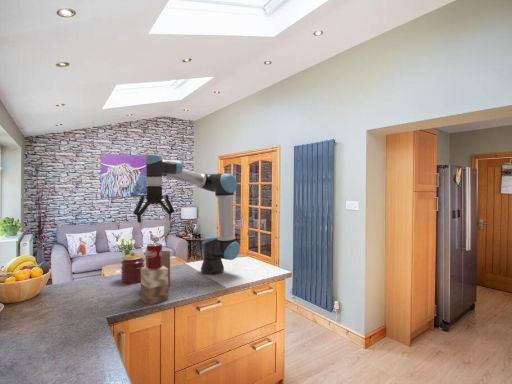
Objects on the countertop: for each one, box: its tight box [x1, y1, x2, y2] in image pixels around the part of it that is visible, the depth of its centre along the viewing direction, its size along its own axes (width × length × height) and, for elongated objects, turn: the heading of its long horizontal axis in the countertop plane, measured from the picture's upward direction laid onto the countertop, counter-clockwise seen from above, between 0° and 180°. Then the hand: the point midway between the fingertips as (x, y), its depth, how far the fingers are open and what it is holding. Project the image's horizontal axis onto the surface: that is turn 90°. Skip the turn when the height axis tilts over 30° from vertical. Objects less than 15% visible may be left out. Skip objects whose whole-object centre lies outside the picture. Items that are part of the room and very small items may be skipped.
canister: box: [120, 251, 145, 285], centre depth 180 cm, size 13×13×18 cm
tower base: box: [140, 283, 169, 306], centre depth 153 cm, size 10×10×8 cm
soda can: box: [146, 242, 163, 270], centre depth 152 cm, size 7×7×12 cm
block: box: [145, 250, 171, 287], centre depth 169 cm, size 10×10×20 cm
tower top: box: [140, 266, 168, 289], centre depth 152 cm, size 10×10×8 cm
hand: (154, 227), depth 152 cm, fingers open, 13 cm apart
